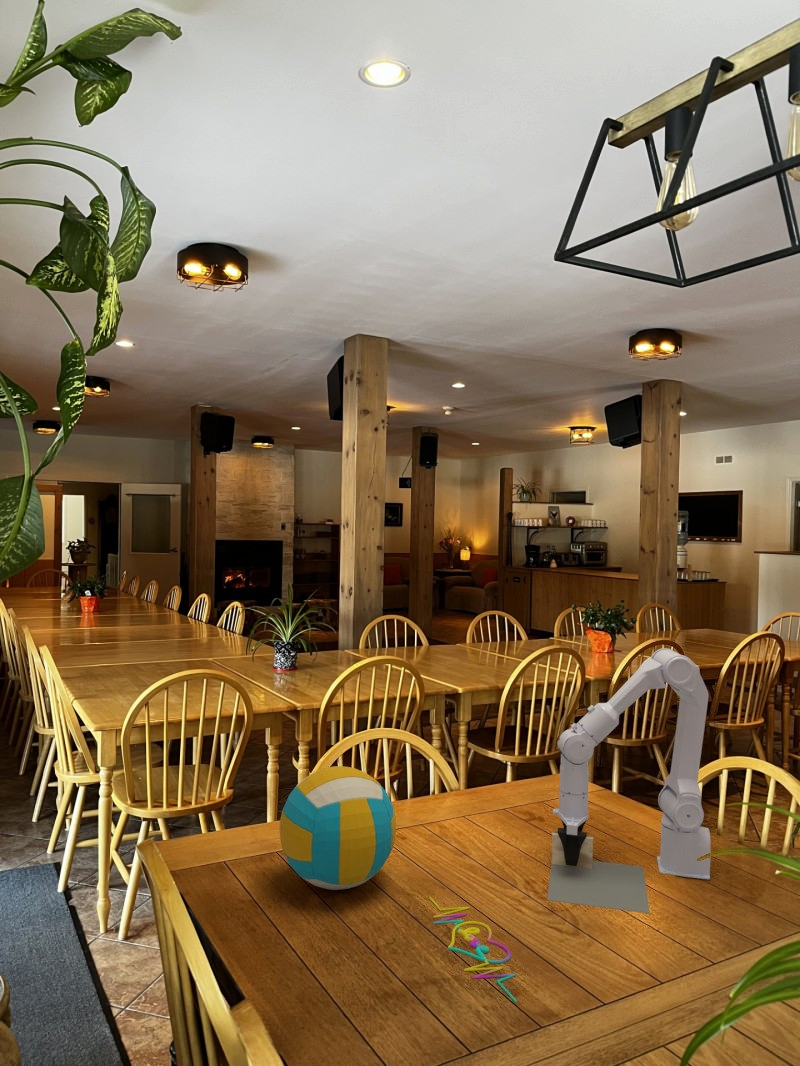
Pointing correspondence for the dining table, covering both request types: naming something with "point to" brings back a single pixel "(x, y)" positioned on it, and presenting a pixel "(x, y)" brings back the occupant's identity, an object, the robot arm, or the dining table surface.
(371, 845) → the volleyball
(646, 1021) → the dining table surface
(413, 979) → the dining table surface
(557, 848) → the tile
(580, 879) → the mat
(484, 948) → the decorative art
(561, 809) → the robot arm
